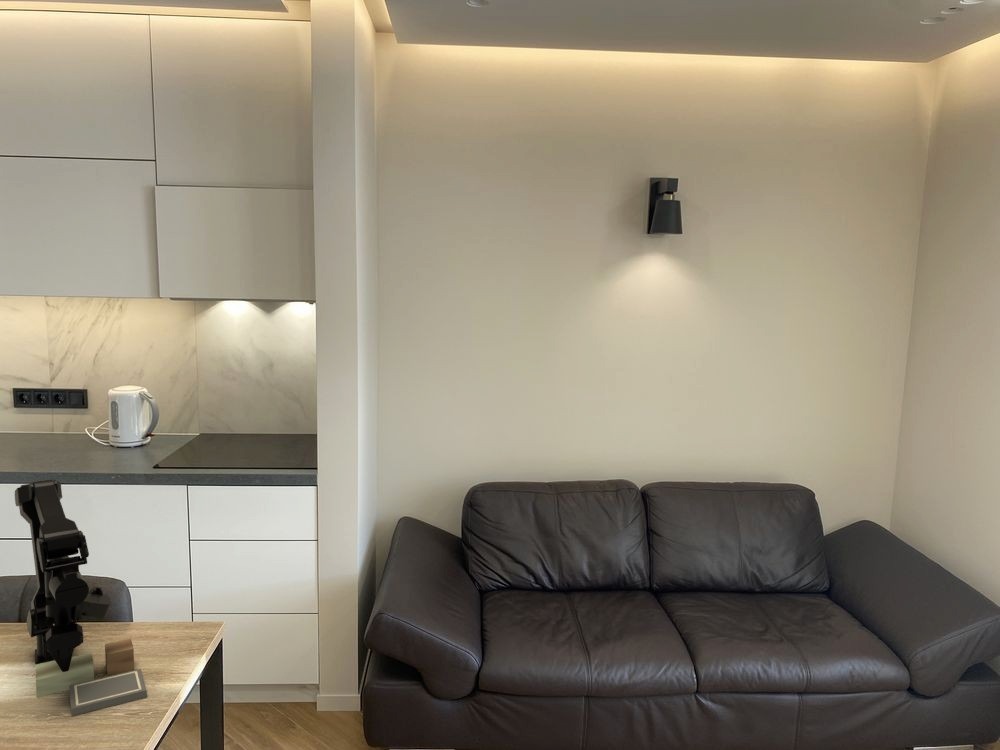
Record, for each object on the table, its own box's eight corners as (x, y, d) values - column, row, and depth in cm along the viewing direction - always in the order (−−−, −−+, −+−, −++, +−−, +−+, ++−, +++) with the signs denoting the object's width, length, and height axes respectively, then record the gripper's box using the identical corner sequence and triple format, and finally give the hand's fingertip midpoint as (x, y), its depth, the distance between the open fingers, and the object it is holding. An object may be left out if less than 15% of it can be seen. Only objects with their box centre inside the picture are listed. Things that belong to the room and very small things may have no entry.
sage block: (37, 682, 147) (36, 664, 147) (92, 670, 153) (92, 652, 152) (36, 698, 142) (35, 679, 141) (94, 685, 147) (93, 667, 147)
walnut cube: (105, 665, 154) (104, 643, 153) (131, 659, 157) (130, 638, 156) (107, 676, 150) (106, 654, 149) (134, 670, 153) (133, 648, 152)
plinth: (69, 692, 144) (69, 685, 143) (141, 675, 151) (140, 668, 151) (71, 716, 136) (71, 708, 136) (146, 697, 143) (146, 689, 143)
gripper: (111, 598, 141) (113, 672, 143) (103, 564, 157) (105, 631, 159) (44, 610, 135) (47, 687, 137) (43, 574, 151) (46, 643, 153)
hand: (64, 660), depth 147 cm, fingers open, 9 cm apart
